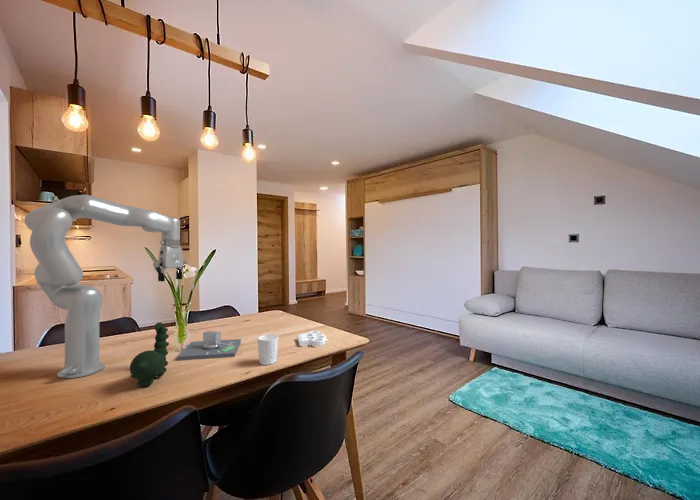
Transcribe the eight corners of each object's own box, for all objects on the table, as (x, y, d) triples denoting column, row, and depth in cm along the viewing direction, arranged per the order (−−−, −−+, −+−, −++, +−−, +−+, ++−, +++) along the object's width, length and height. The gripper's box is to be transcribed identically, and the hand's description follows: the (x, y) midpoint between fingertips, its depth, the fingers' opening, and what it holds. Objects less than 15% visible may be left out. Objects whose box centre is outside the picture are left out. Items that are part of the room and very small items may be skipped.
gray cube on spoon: (211, 343, 139) (211, 329, 139) (235, 346, 134) (235, 332, 134) (199, 348, 132) (199, 333, 132) (224, 352, 128) (224, 336, 128)
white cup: (282, 361, 123) (282, 336, 123) (267, 367, 116) (268, 341, 116) (268, 357, 127) (268, 333, 127) (253, 363, 120) (253, 338, 120)
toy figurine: (147, 371, 115) (120, 396, 91) (149, 321, 117) (122, 332, 93) (175, 368, 118) (155, 392, 94) (176, 319, 120) (157, 330, 96)
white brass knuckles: (295, 338, 154) (323, 336, 158) (300, 350, 137) (331, 347, 141) (295, 332, 154) (323, 330, 158) (300, 342, 137) (331, 340, 141)
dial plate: (234, 356, 127) (234, 352, 127) (177, 360, 122) (177, 356, 122) (240, 342, 146) (240, 338, 146) (191, 344, 142) (191, 341, 142)
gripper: (160, 243, 133) (160, 282, 133) (191, 244, 149) (191, 278, 149) (147, 243, 135) (147, 281, 135) (179, 244, 151) (179, 278, 151)
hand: (170, 280), depth 142 cm, fingers open, 9 cm apart
